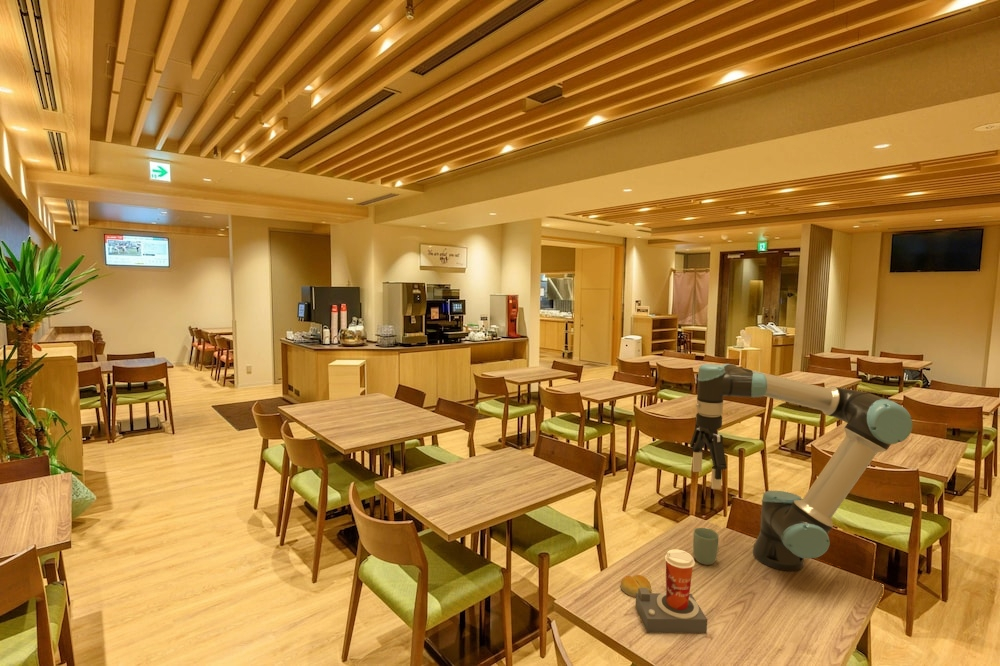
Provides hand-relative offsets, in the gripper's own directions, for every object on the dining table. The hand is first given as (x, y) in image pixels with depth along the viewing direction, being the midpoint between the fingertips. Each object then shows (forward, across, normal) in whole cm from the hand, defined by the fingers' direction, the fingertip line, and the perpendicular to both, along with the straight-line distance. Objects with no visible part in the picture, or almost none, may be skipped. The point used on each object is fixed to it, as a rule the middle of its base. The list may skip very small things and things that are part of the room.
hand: (706, 479), depth 157 cm
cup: (+32, -7, +4) cm, 33 cm away
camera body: (+31, +22, -19) cm, 42 cm away
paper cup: (+27, +22, -17) cm, 38 cm away
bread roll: (+31, +8, -24) cm, 40 cm away
